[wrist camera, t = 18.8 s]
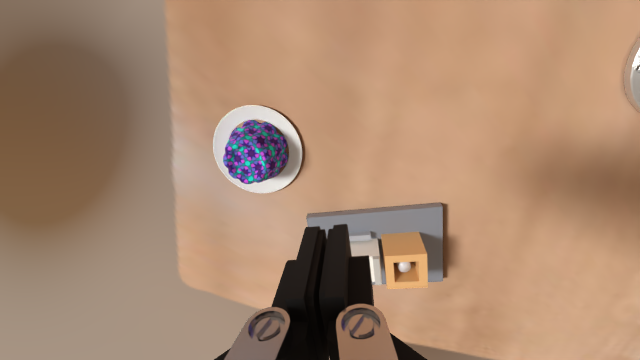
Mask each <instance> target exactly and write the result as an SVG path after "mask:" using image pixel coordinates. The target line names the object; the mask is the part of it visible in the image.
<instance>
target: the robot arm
mask: <svg viewBox="0 0 640 360" xmlns="http://www.w3.org/2000/svg"><path fill="white" fill-rule="evenodd" d="M624 87H625V92H626V95H627V97H628V99H629V102H630V103H631V104H632V106H633V107H634V108H635V109H636V110H637V111H638V112H640V38H639V39H638V41H637V42H636V44H635V45H634V47H633V49H632V51H631V53H630V56H629V58H628V60H627V64H626V68H625V72H624ZM329 356H330V360H427V359H425V358H424V357H423V356H421V355H420V354H419V353H417V352H416V351H414V350H413V349H412V348H410V347H409V346H408V345H406V344H405V343H403V342H402V341H401V340H399V339H398V338H397V337H395V336H394V335H392V334H391V333H390V332H389V329H388V326H387V322H386V319H385V317H384V315H383V313H382V312H381V311H380V310H379V309H377V308H376V307H374V300H373V289H372V278H371V269H370V260H369V255H367V256H352V254H351V247H350V239H349V232H348V225H347V224H339V225H333V229H329V230H328V236H327V237H326V231H325V229H320V226H314V227H306V228H305V231H304V235H303V238H302V242H301V245H300V249H299V252H298V256H297V259H296V260H288V261H287V263H286V265H285V268H284V271H283V274H282V277H281V280H280V283H279V286H278V289H277V292H276V295H275V298H274V301H273V304H272V307H268V308H265V309H262V310H260V311H258V312H256V313H255V314H253V315H252V316H251V317H250V318H249V319H248V320H247V322H246V323H245V325H244V327H243V328H242V330H241V332H240V333H239V335H238V337H237V338H236V340H235V342H234V344H233V345H232V347H231V348H230V349H229V350H227V351H226V352H224V353H223V354H222V355H220V356H219V357H217V358H216V359H214V360H329Z"/></svg>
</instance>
